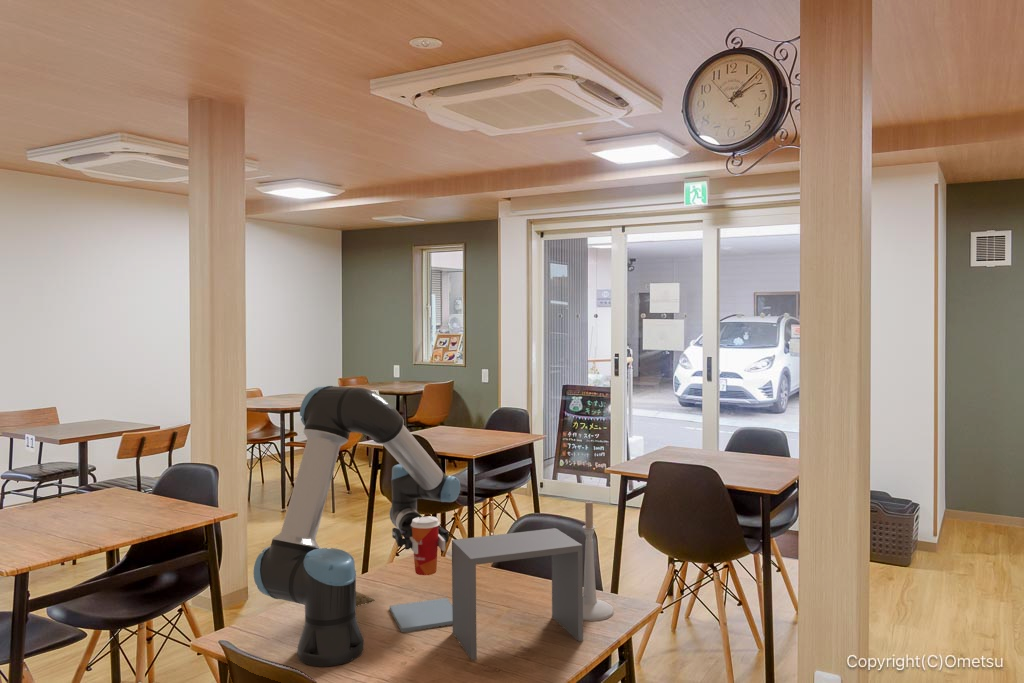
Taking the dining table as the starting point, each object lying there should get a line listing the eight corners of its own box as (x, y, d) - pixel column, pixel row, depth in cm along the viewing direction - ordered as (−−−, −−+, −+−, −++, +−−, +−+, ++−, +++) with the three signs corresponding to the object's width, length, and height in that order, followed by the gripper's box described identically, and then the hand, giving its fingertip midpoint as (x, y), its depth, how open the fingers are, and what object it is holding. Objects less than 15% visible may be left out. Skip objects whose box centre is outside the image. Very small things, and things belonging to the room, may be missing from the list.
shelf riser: (471, 660, 168) (470, 558, 168) (452, 633, 183) (451, 539, 183) (582, 640, 178) (582, 545, 178) (556, 616, 193) (555, 528, 193)
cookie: (377, 601, 206) (377, 598, 206) (339, 614, 197) (339, 610, 197) (353, 591, 214) (353, 587, 214) (316, 602, 206) (316, 599, 206)
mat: (401, 632, 184) (401, 628, 184) (389, 609, 199) (389, 605, 199) (463, 623, 190) (462, 619, 190) (446, 601, 205) (446, 597, 205)
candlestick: (621, 608, 199) (621, 498, 198) (600, 624, 188) (599, 508, 187) (579, 599, 206) (579, 492, 205) (557, 614, 195) (556, 502, 194)
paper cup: (409, 568, 197) (408, 517, 196) (437, 565, 199) (436, 514, 198) (413, 578, 189) (413, 524, 189) (443, 575, 191) (442, 521, 191)
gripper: (444, 534, 214) (466, 557, 192) (377, 541, 207) (392, 566, 186) (444, 508, 214) (466, 529, 192) (377, 515, 207) (392, 536, 186)
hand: (430, 547), depth 189 cm, fingers closed on paper cup, 6 cm apart
